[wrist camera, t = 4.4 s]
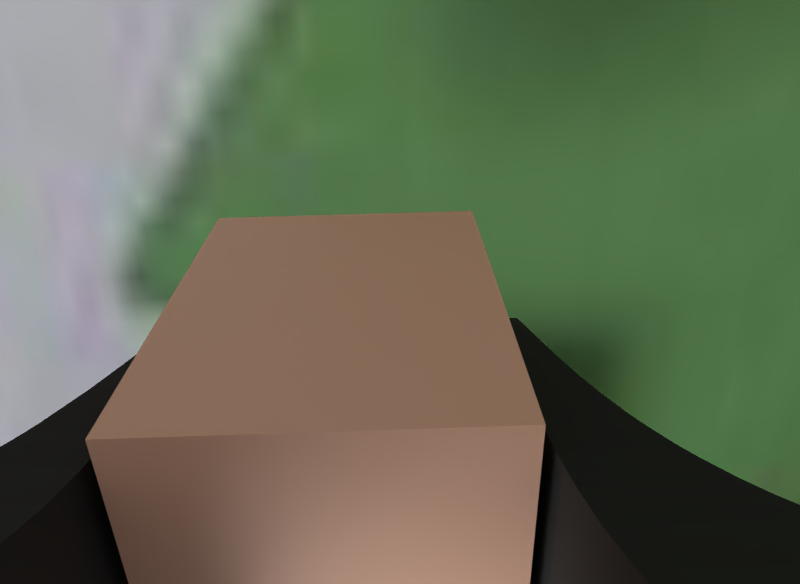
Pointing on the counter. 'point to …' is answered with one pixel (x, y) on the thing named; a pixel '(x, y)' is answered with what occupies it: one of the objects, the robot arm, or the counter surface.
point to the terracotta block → (327, 412)
